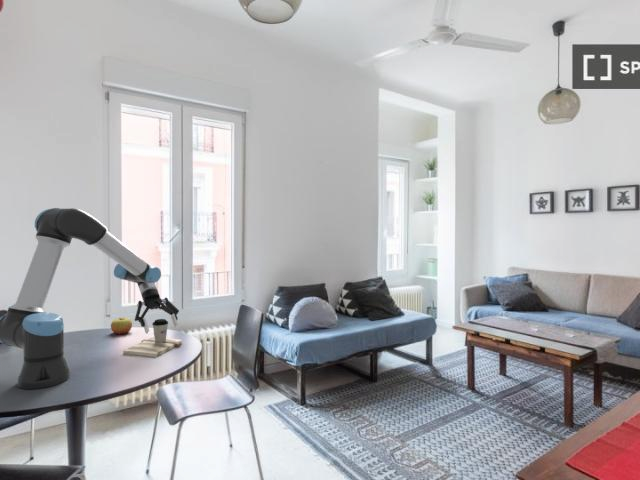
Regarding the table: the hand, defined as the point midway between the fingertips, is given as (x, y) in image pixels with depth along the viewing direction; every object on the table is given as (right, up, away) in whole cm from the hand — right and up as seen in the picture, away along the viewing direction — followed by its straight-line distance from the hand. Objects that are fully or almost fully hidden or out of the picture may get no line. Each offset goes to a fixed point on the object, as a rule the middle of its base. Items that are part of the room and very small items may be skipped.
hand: (162, 329), depth 178 cm
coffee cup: (-1, -6, +1) cm, 7 cm away
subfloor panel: (-2, -8, -4) cm, 9 cm away
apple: (-29, -7, +20) cm, 36 cm away
